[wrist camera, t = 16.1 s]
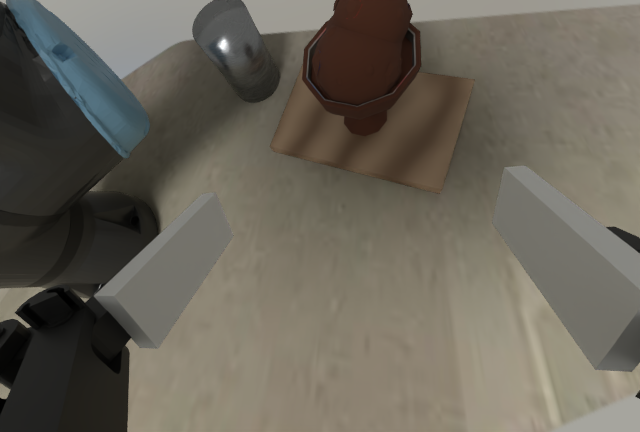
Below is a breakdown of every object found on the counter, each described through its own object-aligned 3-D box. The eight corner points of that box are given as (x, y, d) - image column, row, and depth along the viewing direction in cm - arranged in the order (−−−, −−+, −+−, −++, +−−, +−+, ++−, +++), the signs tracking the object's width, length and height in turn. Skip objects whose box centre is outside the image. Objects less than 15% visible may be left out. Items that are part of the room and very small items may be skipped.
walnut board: (274, 151, 37) (269, 146, 35) (308, 65, 39) (305, 56, 37) (439, 193, 31) (442, 189, 29) (470, 88, 32) (475, 79, 31)
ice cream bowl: (338, 72, 35) (308, -65, 21) (423, 86, 32) (456, -64, 18) (309, 143, 34) (257, 48, 20) (395, 165, 31) (407, 70, 17)
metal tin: (229, 98, 41) (183, 43, 31) (246, 59, 41) (206, -6, 32) (269, 106, 39) (232, 50, 29) (286, 65, 40) (255, -2, 30)
